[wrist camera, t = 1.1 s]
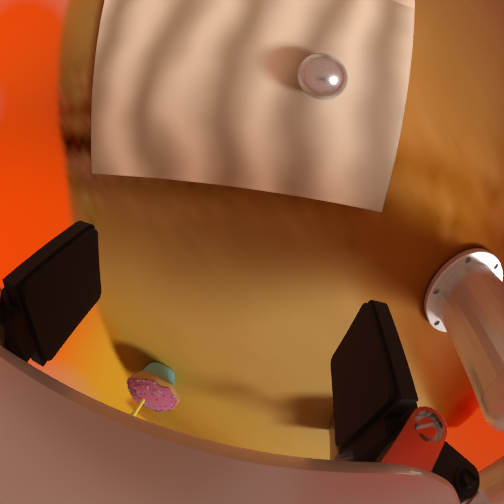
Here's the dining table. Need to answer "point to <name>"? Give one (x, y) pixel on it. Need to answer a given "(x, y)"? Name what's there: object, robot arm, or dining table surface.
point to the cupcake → (154, 388)
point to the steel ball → (322, 76)
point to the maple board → (252, 94)
